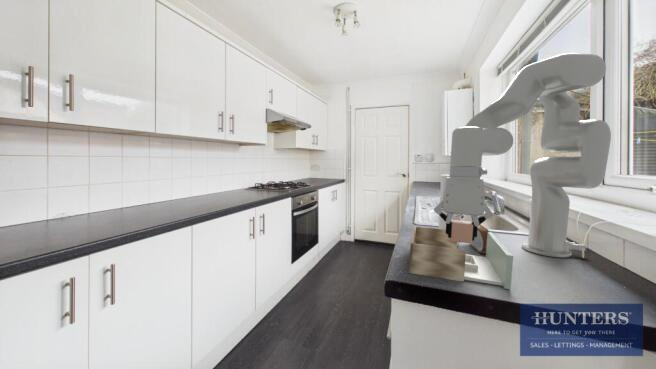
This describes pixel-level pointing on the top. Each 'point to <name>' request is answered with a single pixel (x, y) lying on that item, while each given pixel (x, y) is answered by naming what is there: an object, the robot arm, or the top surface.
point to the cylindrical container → (441, 222)
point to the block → (461, 231)
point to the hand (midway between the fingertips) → (460, 237)
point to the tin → (480, 240)
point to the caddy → (436, 255)
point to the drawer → (490, 264)
